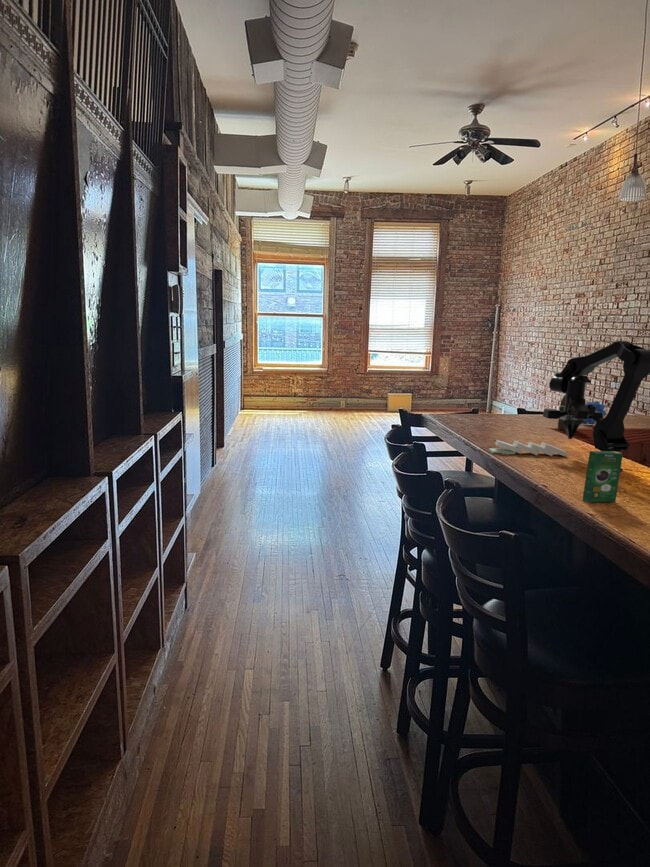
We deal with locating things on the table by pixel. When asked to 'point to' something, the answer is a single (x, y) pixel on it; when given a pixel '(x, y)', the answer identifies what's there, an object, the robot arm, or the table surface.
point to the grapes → (597, 408)
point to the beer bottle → (560, 423)
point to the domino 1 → (501, 451)
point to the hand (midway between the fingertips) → (569, 438)
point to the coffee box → (602, 476)
